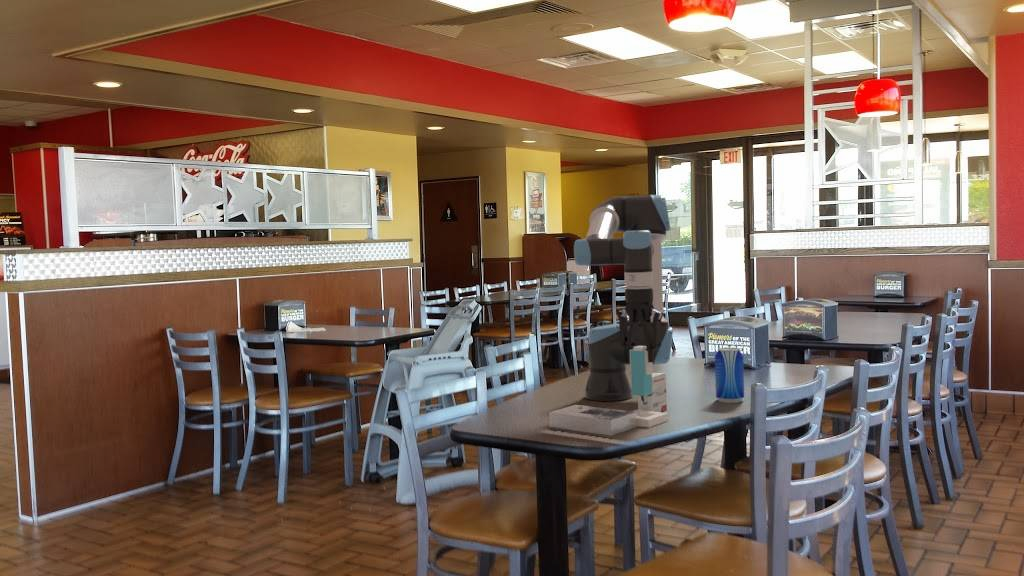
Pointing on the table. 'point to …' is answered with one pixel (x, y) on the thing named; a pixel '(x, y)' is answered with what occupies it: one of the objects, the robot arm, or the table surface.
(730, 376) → the beer can
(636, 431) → the table surface
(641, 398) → the ink box
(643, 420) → the holster
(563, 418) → the port panel
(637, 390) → the plug
